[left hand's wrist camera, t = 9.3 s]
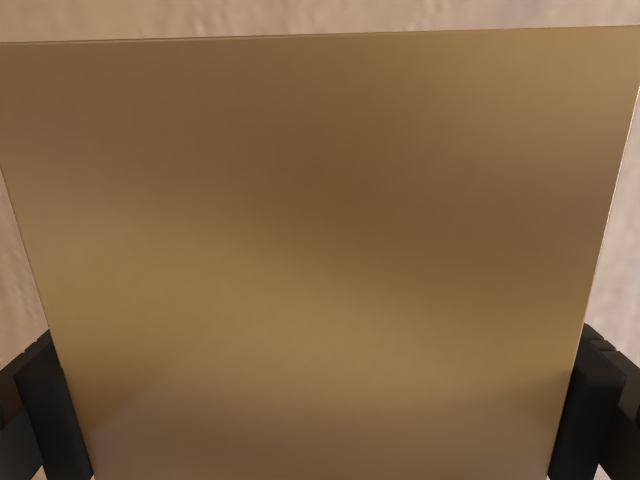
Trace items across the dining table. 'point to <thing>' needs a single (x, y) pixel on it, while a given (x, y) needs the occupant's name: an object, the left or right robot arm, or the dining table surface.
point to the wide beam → (318, 243)
